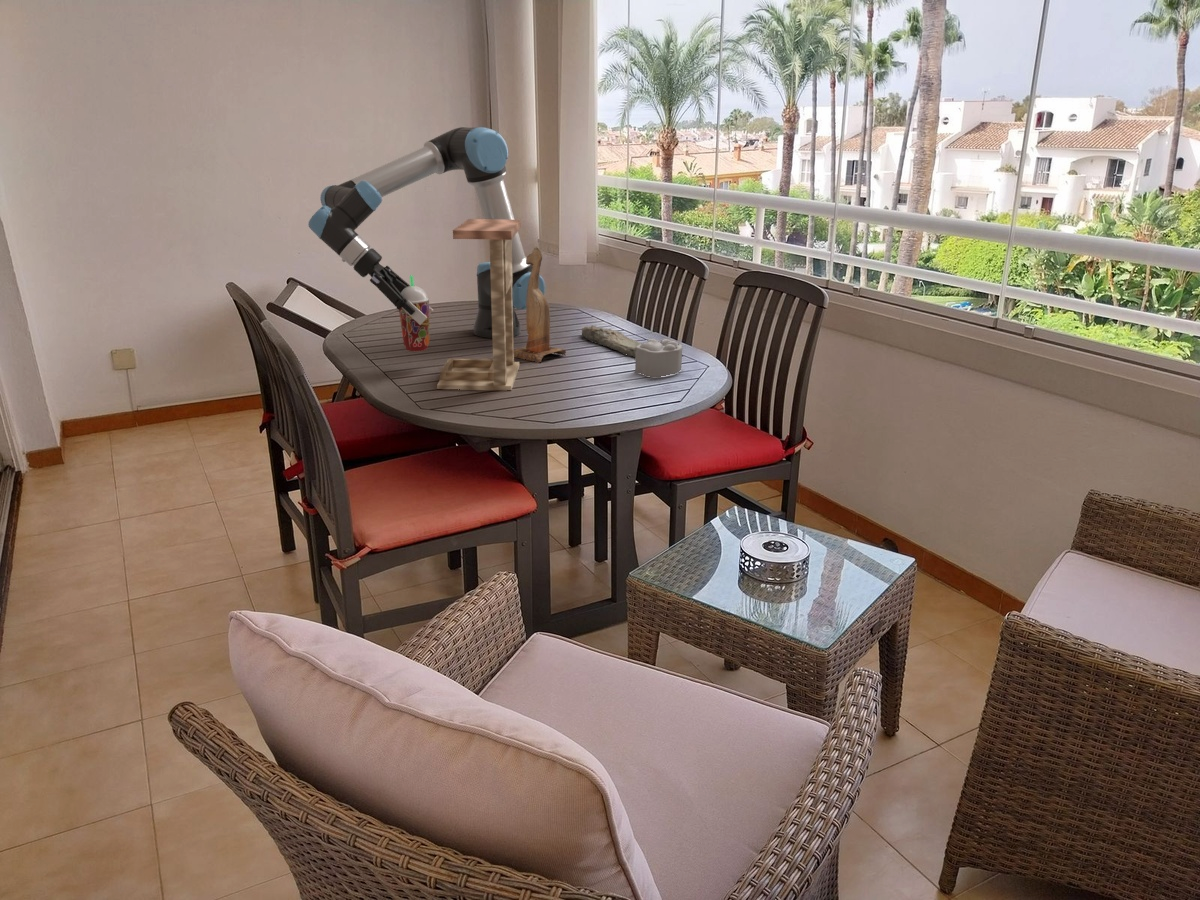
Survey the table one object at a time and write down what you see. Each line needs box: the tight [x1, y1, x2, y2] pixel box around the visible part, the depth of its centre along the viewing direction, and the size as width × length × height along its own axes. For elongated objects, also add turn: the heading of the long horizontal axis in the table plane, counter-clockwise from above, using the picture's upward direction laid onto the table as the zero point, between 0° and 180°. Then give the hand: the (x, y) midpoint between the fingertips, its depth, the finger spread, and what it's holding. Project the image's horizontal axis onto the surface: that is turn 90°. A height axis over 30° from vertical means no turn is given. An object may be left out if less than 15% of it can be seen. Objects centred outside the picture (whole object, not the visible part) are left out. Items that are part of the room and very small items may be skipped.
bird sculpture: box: [514, 246, 567, 363], centre depth 249 cm, size 11×12×32 cm
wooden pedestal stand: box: [436, 218, 522, 391], centre depth 226 cm, size 20×26×40 cm
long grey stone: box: [581, 325, 643, 358], centre depth 268 cm, size 35×5×10 cm
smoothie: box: [398, 274, 430, 352], centre depth 233 cm, size 8×8×20 cm
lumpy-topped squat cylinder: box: [634, 338, 683, 377], centre depth 240 cm, size 10×13×9 cm
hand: (426, 317), depth 234 cm, fingers closed on smoothie, 8 cm apart
